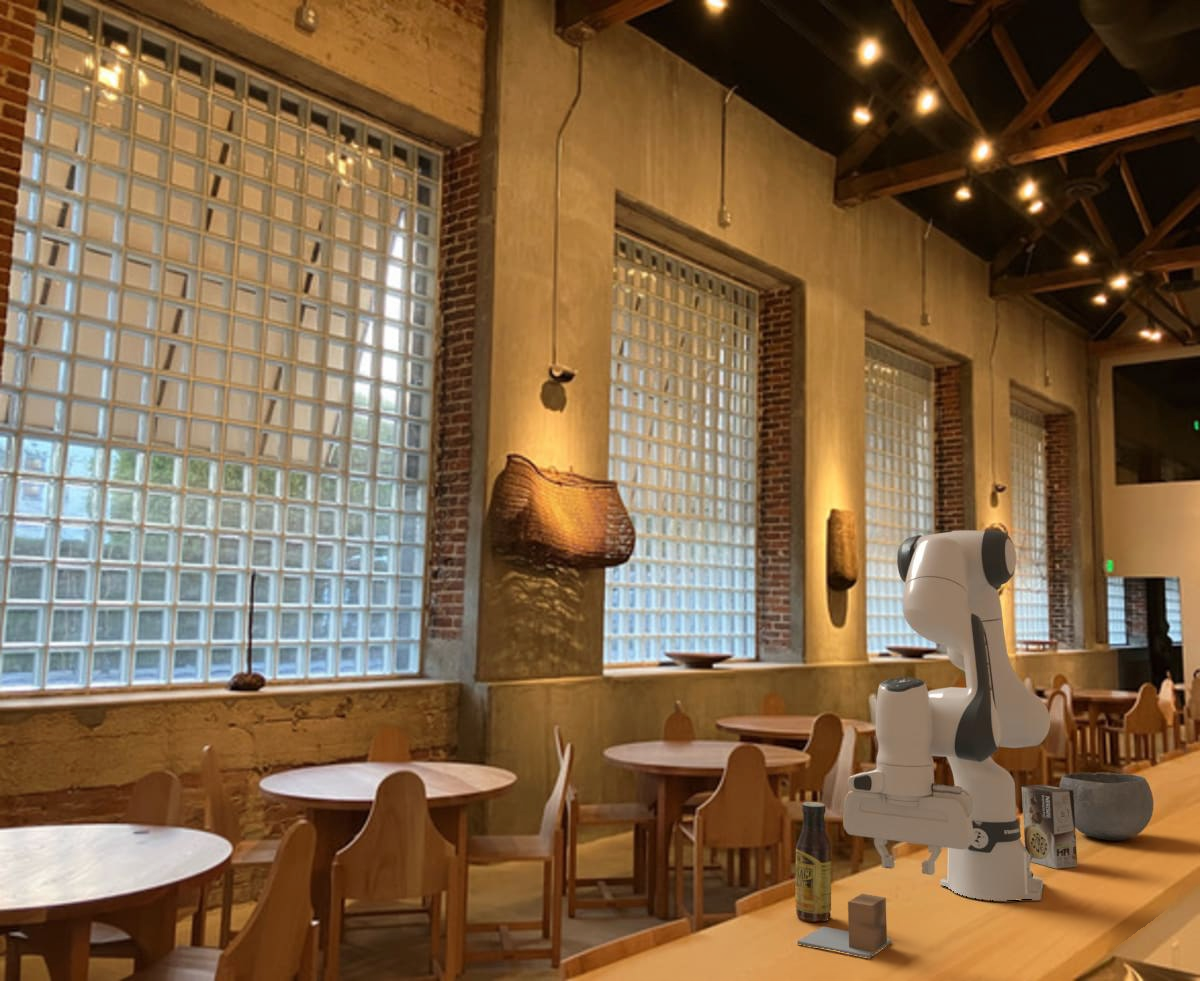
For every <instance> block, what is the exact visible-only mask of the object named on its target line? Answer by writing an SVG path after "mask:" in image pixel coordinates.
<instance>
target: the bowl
mask: <svg viewBox="0 0 1200 981" xmlns="http://www.w3.org/2000/svg"><path fill="white" fill-rule="evenodd" d="M1058 787H1059V788H1064V789H1070V790H1074V792H1073V794H1074V813H1075V830H1078V832H1080V833H1082V834H1084V835H1086V836H1088V837H1091V838H1095V839H1099V840H1106V841H1126V840H1128V839H1131V838H1133V837H1135V836H1137V835H1138V834H1140V833H1142V831H1144V830H1145V828H1146V827H1147V826H1148V824H1149V823H1150V821H1151V819H1152V817H1153V812H1154V797H1153V792H1152V789H1151V787H1150V784H1149V782H1148V780H1147V779H1146V778H1145V777H1143V776H1140V775H1135V774H1127V773H1113V772H1102V771H1100V772H1099V771H1096V772H1095V773H1094V772H1070V773H1067V774H1065V775H1062V776H1061V778H1060V782H1059V786H1058Z"/></svg>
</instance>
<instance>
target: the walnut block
mask: <svg viewBox="0 0 1200 981" xmlns="http://www.w3.org/2000/svg"><path fill="white" fill-rule="evenodd" d="M847 911H848V912H847V916H848V918H847V920H848V921H847V922H848V924H847V925H848V931H849V947H850V948H855V949H860V950H865V951H870V952H874V951H875V950H877V949H878V948H880V947H881V946H883V945H884V944H886V943H887V939H888V934H887V926H888V925H887V898H886V897H884V896H878V895H874V894H873V895H872V894H866V893H860V894H859V895H857V896H855V897H854V898H852V899H850V900H848V901H847Z"/></svg>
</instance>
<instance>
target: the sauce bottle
mask: <svg viewBox="0 0 1200 981" xmlns="http://www.w3.org/2000/svg"><path fill="white" fill-rule="evenodd" d="M801 806H802V807H801V811H802V813H803V814H802V815H803V816H802V829H801V833H800V834H799V838H798V840H797V845H796V847H795V894H794V895H795V897H794V898H795V902H794V903H795V908H796V911H795V912H796V913H795V914H796V916H797V918H799V920H803V921H805V920H806V922H809V921H810V922H809V923H816V921H817V923H819V922H818V921H822V922H825V920H827V919H829V920H831V917H832V916H831V915H832V914H831V911H832V859H831V857H832V855H831V852H832V851H831V849H832V848H831V846H832V845H831V842H830V839H829V838H828V835H827V834H826V832H825V829H826V828H825V827H826V826H825V813H826V804H824V803H822V802H818V801H815V802H814V801H806V802H803V803H802V804H801ZM827 921H828V920H827Z"/></svg>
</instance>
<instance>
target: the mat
mask: <svg viewBox="0 0 1200 981" xmlns="http://www.w3.org/2000/svg"><path fill="white" fill-rule="evenodd" d="M891 942H892V938H891V939H890V938H887V943H886V944H884V945H883V946H881V947H880V948H878V949H877V950H875V951H874V952H870V951H865V950H860V949H855V948H850V947H849V930H843V929H839V928H834V927H833V928H832V927H828V926H821V927H819V928H818V929H815V930H814V931H812V932H811V933H809V934H808V935H805V936H804V937H802V938H800V939H799V940H797V945H798V944H801V945H805V946H811V947H818V948H824V949H830V950H836V951H840V952H844V953H849V954H852V955H857V956H862V957H867V958H869V957H871V956H872V955H874V954H875V953H876V952H878V951H879V950H881V949H882V948H884V947H885V946H887V945H888V944H890V943H891ZM891 944H892V943H891ZM891 944H890V945H891ZM801 945H800V946H801ZM805 946H804V947H805ZM888 946H889V945H888ZM888 946H887V947H888ZM884 949H885V948H884ZM881 951H882V950H881ZM878 953H879V952H878ZM874 956H875V955H874ZM871 958H872V957H871Z"/></svg>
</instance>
